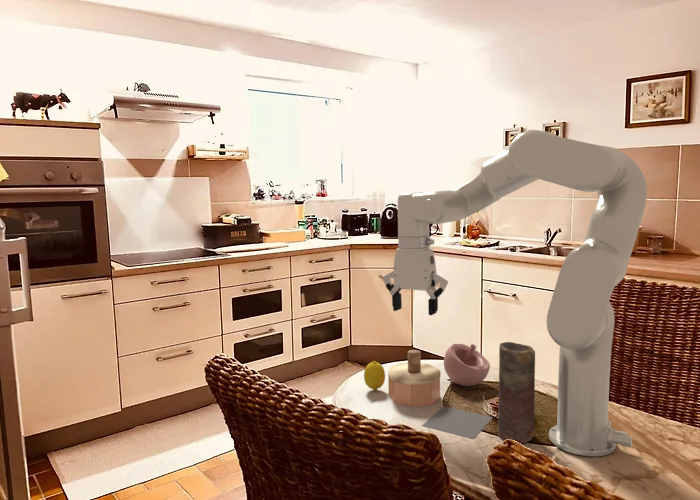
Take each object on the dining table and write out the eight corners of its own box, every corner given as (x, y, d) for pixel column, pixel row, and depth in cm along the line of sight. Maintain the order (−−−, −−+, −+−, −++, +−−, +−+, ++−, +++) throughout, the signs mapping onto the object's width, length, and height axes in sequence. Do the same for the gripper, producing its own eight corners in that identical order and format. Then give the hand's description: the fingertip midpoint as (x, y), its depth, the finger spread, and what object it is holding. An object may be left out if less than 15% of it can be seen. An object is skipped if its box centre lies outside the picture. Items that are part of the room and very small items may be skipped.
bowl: (445, 394, 136) (445, 371, 135) (425, 411, 126) (425, 387, 125) (404, 385, 143) (403, 363, 142) (381, 401, 133) (381, 377, 132)
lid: (448, 371, 135) (448, 348, 135) (426, 388, 125) (426, 363, 124) (403, 363, 142) (403, 341, 142) (378, 378, 132) (378, 354, 131)
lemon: (385, 386, 142) (385, 357, 141) (384, 394, 137) (384, 364, 136) (365, 386, 143) (364, 357, 142) (363, 394, 137) (362, 364, 136)
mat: (492, 419, 121) (492, 417, 121) (473, 441, 111) (473, 438, 111) (443, 408, 128) (443, 406, 128) (421, 427, 118) (421, 425, 118)
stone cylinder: (504, 426, 117) (506, 338, 115) (538, 435, 113) (540, 343, 111) (492, 440, 111) (493, 347, 109) (527, 449, 107) (529, 353, 105)
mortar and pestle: (481, 396, 134) (481, 352, 133) (436, 388, 140) (436, 346, 139) (495, 381, 144) (495, 340, 143) (453, 373, 150) (453, 334, 149)
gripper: (453, 242, 128) (453, 312, 130) (390, 240, 137) (391, 305, 139) (440, 246, 122) (440, 319, 124) (375, 243, 131) (376, 311, 133)
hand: (414, 311), depth 132 cm, fingers open, 9 cm apart
